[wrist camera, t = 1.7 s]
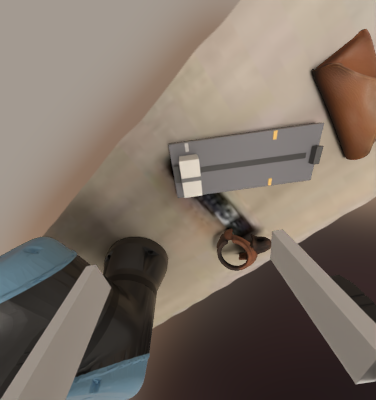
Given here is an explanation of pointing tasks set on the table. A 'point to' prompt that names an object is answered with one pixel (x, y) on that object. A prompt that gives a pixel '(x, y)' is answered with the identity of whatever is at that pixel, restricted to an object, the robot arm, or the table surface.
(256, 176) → the grey slotted slider track
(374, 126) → the sunglasses case
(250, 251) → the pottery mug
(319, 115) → the table surface
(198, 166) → the fader
